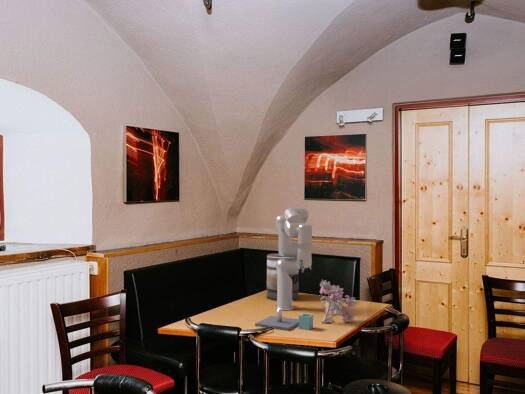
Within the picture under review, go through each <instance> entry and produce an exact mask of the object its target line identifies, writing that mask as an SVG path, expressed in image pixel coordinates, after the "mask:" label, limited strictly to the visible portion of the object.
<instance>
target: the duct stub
mask: <svg viewBox="0 0 525 394" xmlns="http://www.w3.org/2000/svg"><path fill="white" fill-rule="evenodd" d="M276 317H277V322H282V317H283V310H282V309H276Z"/></svg>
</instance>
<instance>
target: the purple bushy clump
mask: <svg viewBox="0 0 525 394" xmlns="http://www.w3.org/2000/svg"><path fill="white" fill-rule="evenodd" d="M330 296H331V295H329V296H328V297H330ZM330 299H331V297H330ZM326 301H327V299H326V298H325V299H324V300H322V301H321V302H320V307H321V308H322V309H323V310H325V314H327V311H328V307H329V302H326ZM333 301H334V300H333ZM334 302H335V301H334ZM323 303H325V307H324V306H323ZM333 306H334V305H333V303H332V302H331V304H330V308H333ZM335 310H336V313H337V312H338V311H337V307H336V309H335ZM331 311H332V310H329V313H328V315H329V314H330V313H331ZM333 315H335V313H334V311H333V312H332V314H331V315H330V316H333ZM335 316H336V315H335Z"/></svg>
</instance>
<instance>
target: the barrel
mask: <svg viewBox="0 0 525 394" xmlns="http://www.w3.org/2000/svg"><path fill="white" fill-rule="evenodd" d="M280 259H296V257H285V256H280V255H279V252H277V253H268V254H267V255H266V299H267V300H270V301H274V302H275V301H276V302H277V269H276V262H277V261H278V260H280ZM288 275H289V277H290V278H291V279H292V300H293V301H297V300H299V296H300V295H299V291H300V289H299V287H300V285H299V284H300V283H299V282H300V279H298V274H288Z"/></svg>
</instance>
